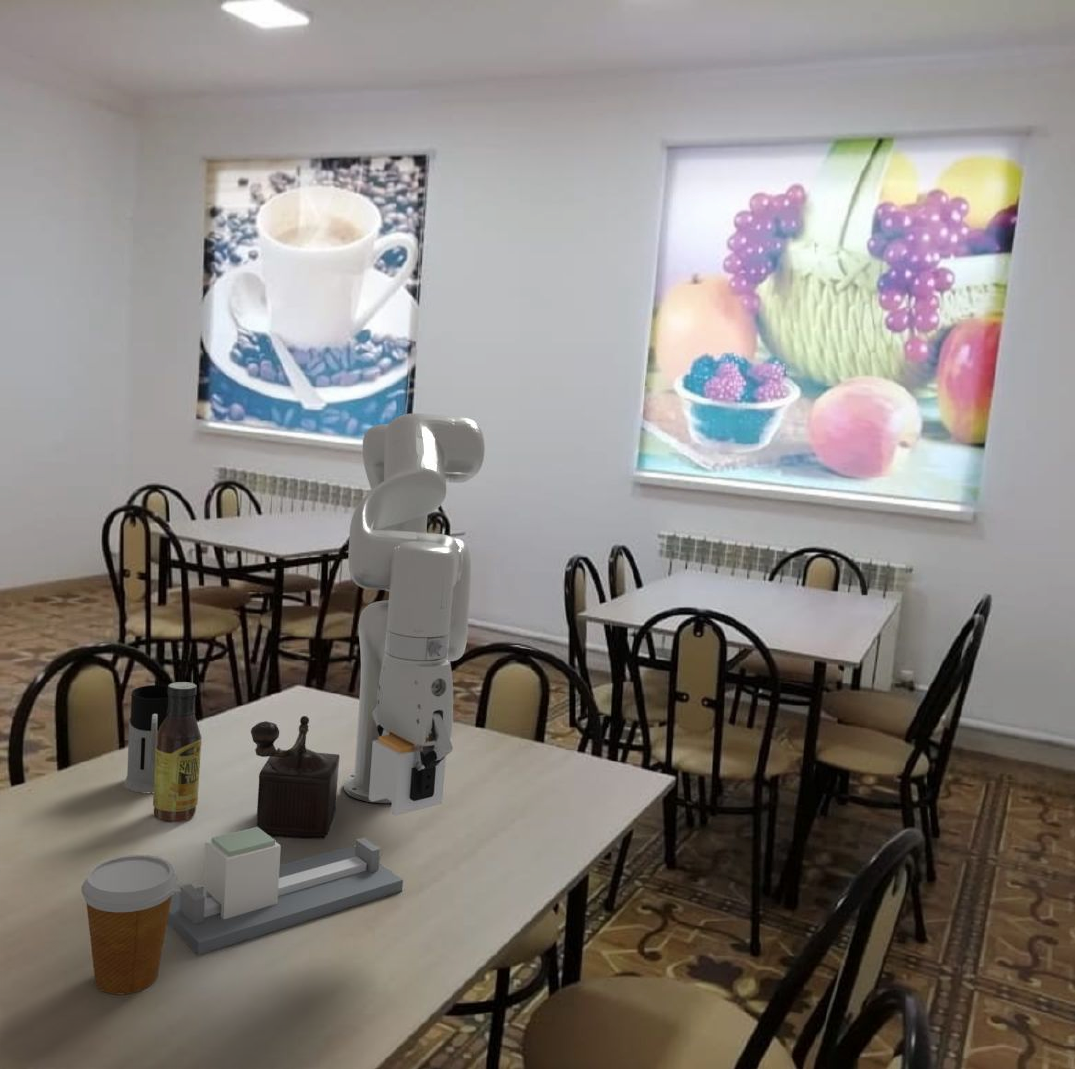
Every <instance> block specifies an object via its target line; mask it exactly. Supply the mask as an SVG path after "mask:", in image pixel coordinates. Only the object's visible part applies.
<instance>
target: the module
mask: <svg viewBox="0 0 1075 1069" xmlns="http://www.w3.org/2000/svg"><path fill="white" fill-rule="evenodd" d="M427 740H429V737H428V736H426V741H427ZM428 752H429V746H427V747H423V753H424V756H425V755H426V754H427V753H428ZM446 759H447V756H445V757H444V759H443V760H442V761H441V762H440V765H439V766H437V767H436V774H435V787H434V795H433V796H432V797H429V798H425V799H421V800H417V801H413V800H411V799H410V789H411V775H412V768H415V767H416V764H415V756H414V748H413V744H412V743H410V742H408V741H406V740H404V739H402V738H401V737H399V736H397V735H395V734H389V735H383V736H379V739H378V740H373V744H372V758H371V772H370V787H369V800H370V801H372V802H371V803H373V801H377V800H382V799H386V798H387V799H389V800H390V801H392V803H391V807H390V814H391V815H393V816H395V817H396V816H400V815H405V814H408V813H411V812H416V811H420V810H423V809H427V808H430V807H436V806H439V805H443V799H444V798H443V797H444V796H443V795H444V783H445V773H446V772H445V771H446Z"/></svg>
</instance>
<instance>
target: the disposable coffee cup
mask: <svg viewBox="0 0 1075 1069" xmlns="http://www.w3.org/2000/svg"><path fill="white" fill-rule="evenodd" d="M178 881H179V879H178V876H177V874H176V873H175V870H174V867H173V865H172V863H171V862H170V861H169V860H166V859H164V858H163V857H159V856H155V855H150V854H129V855H121V856H116V857H113V858H108V859H106V860H103V861H101V862H99V863H97V864H96V865H94V866H92V868H90V870H89V871H88V872H87V874H86V877H85V881H83V883H82V885H81V895H82V897H83V898H84V901H85V903H86V909H87V910H86V911H87V919H88V920H87V921H88V929H89V939H90V946H91V953H92V954H91V957H92V966H93V975H94V977H93V978H94V984H95V986H96V988H97V987H98V988H99V989H98V988H97V989H98V990H99V991H101V990H102V991H101V992H104V993H107V994H110V993H111V994H113V995H126V994H133V993H136V991H137V992H140V991H142V990H144V989H146V987H147V988H148V987H150V986H151V985H152V984H153V983H155V981H156V980H157V978H158V976H159V970H160V963H161V957H162V952H163V948H164V942H165V936H166V931H167V926H168V923H167V920H168V915H169V909H170V903H171V897H172V894H174V893H175V889H177V886H178ZM139 990H140V991H139Z"/></svg>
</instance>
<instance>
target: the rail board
mask: <svg viewBox="0 0 1075 1069" xmlns="http://www.w3.org/2000/svg"><path fill="white" fill-rule="evenodd" d="M281 848H282V845H280V844H279V843H278V842H276V839H275V838H273V836H269V835H268V834H266V833H265V832H264V831H262V830H261V829H260V828H259V827H257V826H255V827H250V828H246V829H243V830H238V831H233V832H229V833H225V834H221V835H218V836H212V837H211V840H207V841H205V854H204V856H205V857H204V875H203V876H204V877H203V886H199V887H194V885H192V884H191V883H188V884H185V885H181V886H180V891H179V892H176V893H173V894H172V897H171V903H170V909H169V915H168V920H167V925H169V926H170V927H171V929H173V930H174V931H175V933H176V934H178V936H179V937H180V938H181V939H182V940H183V941H184V942H185V943H186V944H187V945H188V946H189V947H190V948H191V950H192V951H193V952H195V954H196V955H197V956H200V955H202V954H206V953H208V952H213V951H216V950H219V949H221V948H222V949H223V948H225V947H229V946H232V945H234V944H238V943H240V942H245V941H247V940H251V939H253V938H257V937H260V936H263V935H266V934H270V933H273V932H275V931H279V930H282V929H285V928H288V927H291V926H295V925H298V924H301V923H304V922H307V921H311V920H314V919H317V918H320V917H323V916H325V915H330V914H332V913H336V912H339V911H343V910H345V909H348V908H352V907H354V906H355V907H356V906H358V905H361V904H365V903H367V902H371V901H373V900H377V899H380V898H383V897H387V896H389V894H390V895H393V894H396V893H399V892H402V891H403V883H404V879H403V878H401V877H400V876H398V875H397V874H396V873H394V872H392V871H391V870H390V869H388V868H386V867H385V866H383V865H382V864H381V863H380V856H381V855H380V850H381V849H380V848H379V847H378V846H377V845H375V844H373V843H372V842H370V841H369V840H367V839H366V838H364V837H362V838H357V839H356V840H355V845H351V846H347V847H343V848H340V849H336V850H333V851H329V852H325V853H321V854H317V855H314V856H311V857H307V858H303V859H299V860H295V861H292V862H288V863H284V864H281V863H280V862H281ZM401 890H402V891H401ZM398 891H399V892H398Z"/></svg>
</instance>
